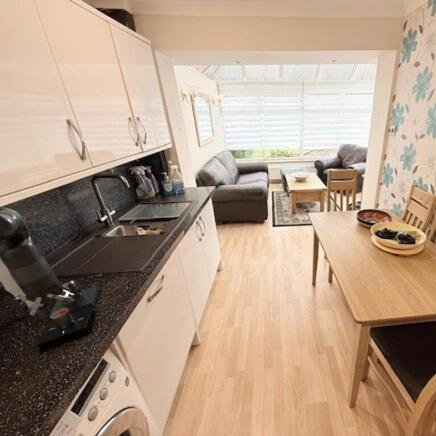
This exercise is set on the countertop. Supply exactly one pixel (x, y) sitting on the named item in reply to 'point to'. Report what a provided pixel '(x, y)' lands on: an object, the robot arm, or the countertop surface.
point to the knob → (62, 318)
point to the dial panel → (67, 330)
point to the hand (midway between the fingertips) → (61, 314)
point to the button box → (86, 301)
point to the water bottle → (12, 284)
